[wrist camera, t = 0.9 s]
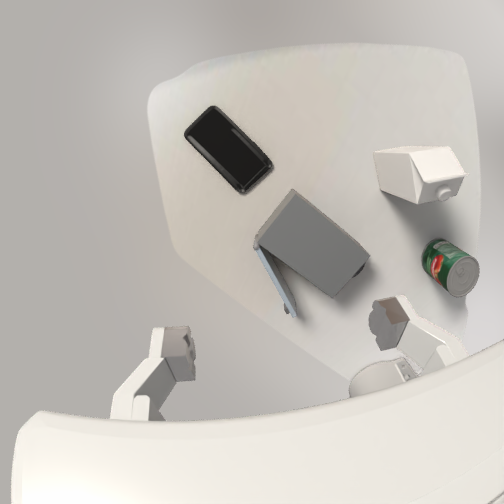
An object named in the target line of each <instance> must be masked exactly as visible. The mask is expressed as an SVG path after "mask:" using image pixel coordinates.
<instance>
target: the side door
mask: <svg viewBox="0 0 504 504" xmlns="http://www.w3.org/2000/svg"><path fill="white" fill-rule="evenodd" d="M257 238H258V234H257V235H256V236H255V241H254V246H253V248H254V250H255V251H256V252H257V254H258V256H259V258H260V260H261V261H262V263H263V265H264V267H265V269H266V270H267V272H268V274H269V276H270V278H271V279H272V281H273V283H274V285H275V287H276V288H277V290H278V292H279V294H280V296H281V297H282V299H283V301H284V310H285V312H286V314H288V313H290V314H291V315H292V317H296V316H297V312H296V306H295V300H294V298H293V296H292V294H291V292H290V290H289V288H288V287H287V285H286V283H285V281H284V279H283V277H282V275H281V274H280V272H279V270H278V268H277V266H276V264H275V262H274V261H273V259H272V257H271V255H270V253H269V251H268V250H266V249H265V248H264V247H262V246H261V245H260V244H258V243H257Z"/></svg>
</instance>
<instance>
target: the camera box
mask: <svg viewBox="0 0 504 504" xmlns="http://www.w3.org/2000/svg"><path fill="white" fill-rule="evenodd" d="M257 243H258V244H260V245H261V246H262V247H264V248H265V249H266V250H268V251H269V252H270V253H272V254H273V255H275V256H276V257H277V258H279V259H280V260H281V261H283V262H284V263H285V264H287V265H288V266H289V267H291V268H292V269H293V270H295V271H296V272H298V273H299V274H300V275H302V276H303V277H304V278H306V279H307V280H308V281H310V282H311V283H312V284H314V285H315V286H316V287H318V288H319V289H320V290H322V291H323V292H325V293H326V294H327V295H329V296H330V297H331V298H333V297H334V296H335V295H336V294H337V293H338V292H339V291H340V290H341V289H342V288H343V286H344V285H345V284H346V283H347V282H348V281H349V280H350V279H351V278H352V277H355V276H356V275H358V274H359V273H360V272H361V270H362V269H363V267H364V265H365V262H366V261H367V259H368V258H369V257H370V255H369V254H368V253H367V252H366V250H365V249H364V248H363V247H362V246H361V245H360V244H359V243H358V242H357V241H356V240H355V239H353V238H352V237H351V236H350V235H349V234H348V233H346V232H345V231H344V230H343V229H342V228H340V227H339V226H338V225H337V224H336V223H334V222H333V221H332V220H331V219H330V218H328V217H327V216H326V215H325V214H324V213H322V212H321V211H320V210H319V209H317V208H316V207H315V206H314V205H312V204H311V203H310V202H309V201H307V200H306V199H305V198H304V197H302V196H301V195H300V194H299V193H297V192H296V191H295V190H293V189H291V191H290V192H289V193H288V194H287V196H286V197H285V198H284V199H283V201H282V202H281V203H280V205H279V206H278V207H277V208H276V210H275V211H274V212H273V213H272V215H271V216H270V217H269V218H268V220H267V221H266V222H265V224H264V225H263V226H262V227H261V229H260V230H259V232H258V238H257Z"/></svg>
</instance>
